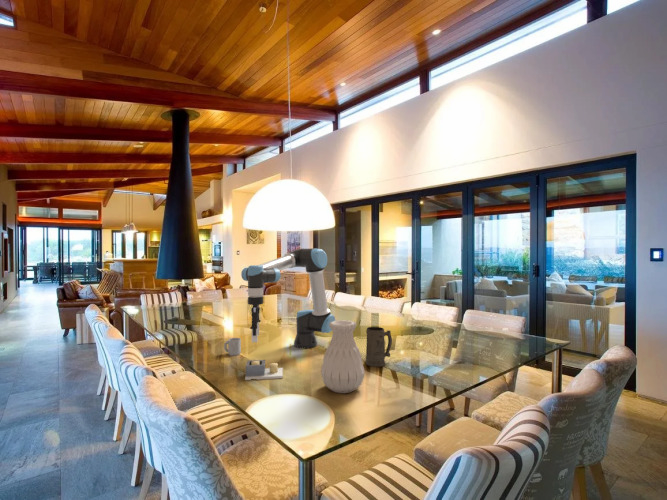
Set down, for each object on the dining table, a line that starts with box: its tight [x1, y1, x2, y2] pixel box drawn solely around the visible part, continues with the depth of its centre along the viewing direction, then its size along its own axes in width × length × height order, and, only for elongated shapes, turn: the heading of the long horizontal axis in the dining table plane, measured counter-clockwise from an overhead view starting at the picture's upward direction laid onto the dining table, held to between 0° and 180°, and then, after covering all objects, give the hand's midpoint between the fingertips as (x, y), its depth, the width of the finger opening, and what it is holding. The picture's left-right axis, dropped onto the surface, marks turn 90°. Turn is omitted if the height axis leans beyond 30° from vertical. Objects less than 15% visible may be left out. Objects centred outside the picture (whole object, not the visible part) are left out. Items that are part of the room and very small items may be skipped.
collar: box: [245, 359, 266, 376], centre depth 180 cm, size 9×9×5 cm
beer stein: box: [365, 326, 393, 368], centre depth 199 cm, size 15×11×20 cm
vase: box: [320, 319, 366, 394], centre depth 163 cm, size 20×20×30 cm
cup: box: [223, 337, 242, 357], centre depth 216 cm, size 7×10×9 cm
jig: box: [244, 361, 284, 381], centre depth 180 cm, size 18×12×7 cm, turn 98°
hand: (255, 338), depth 180 cm, fingers open, 13 cm apart
